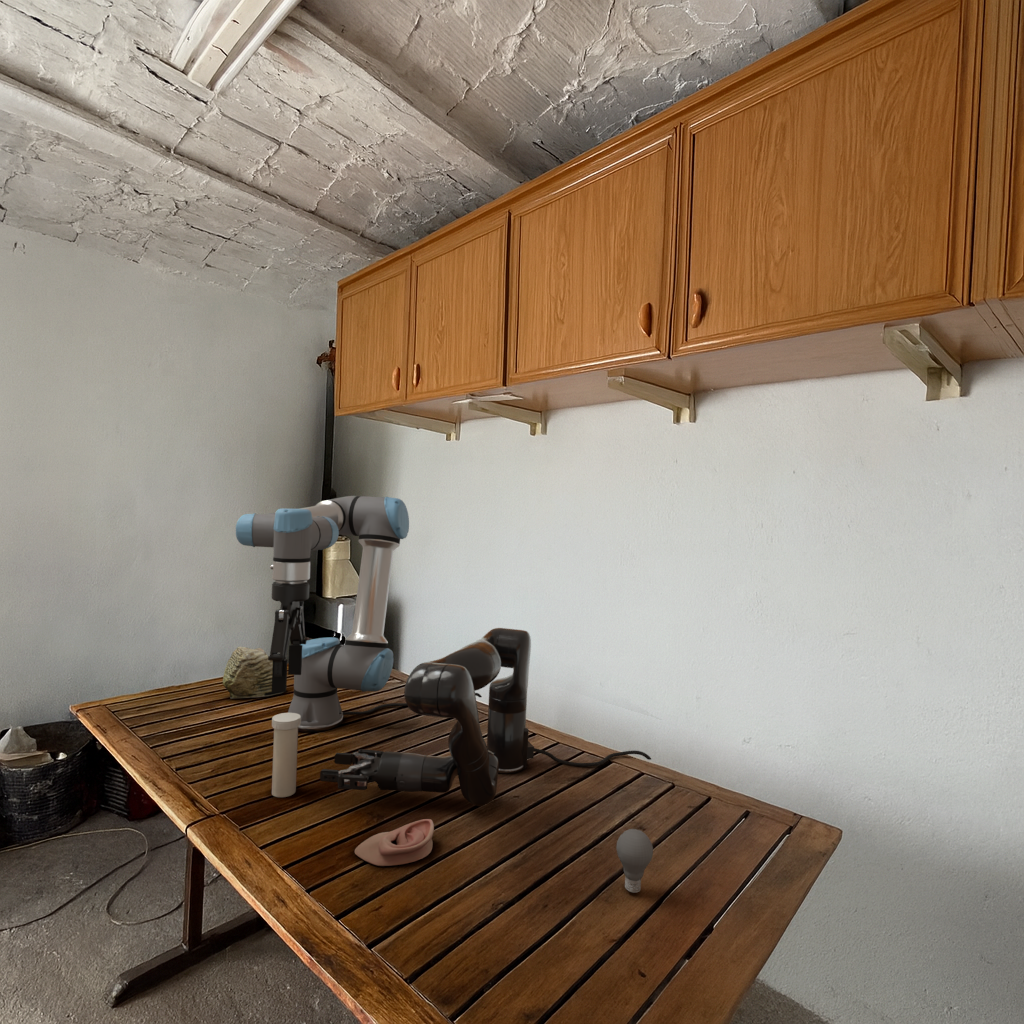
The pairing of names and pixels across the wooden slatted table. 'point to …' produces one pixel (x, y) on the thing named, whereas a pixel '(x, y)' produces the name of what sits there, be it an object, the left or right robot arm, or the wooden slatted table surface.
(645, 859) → the light bulb
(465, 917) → the wooden slatted table surface
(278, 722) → the lid
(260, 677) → the fossil
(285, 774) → the jar
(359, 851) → the anatomical model
